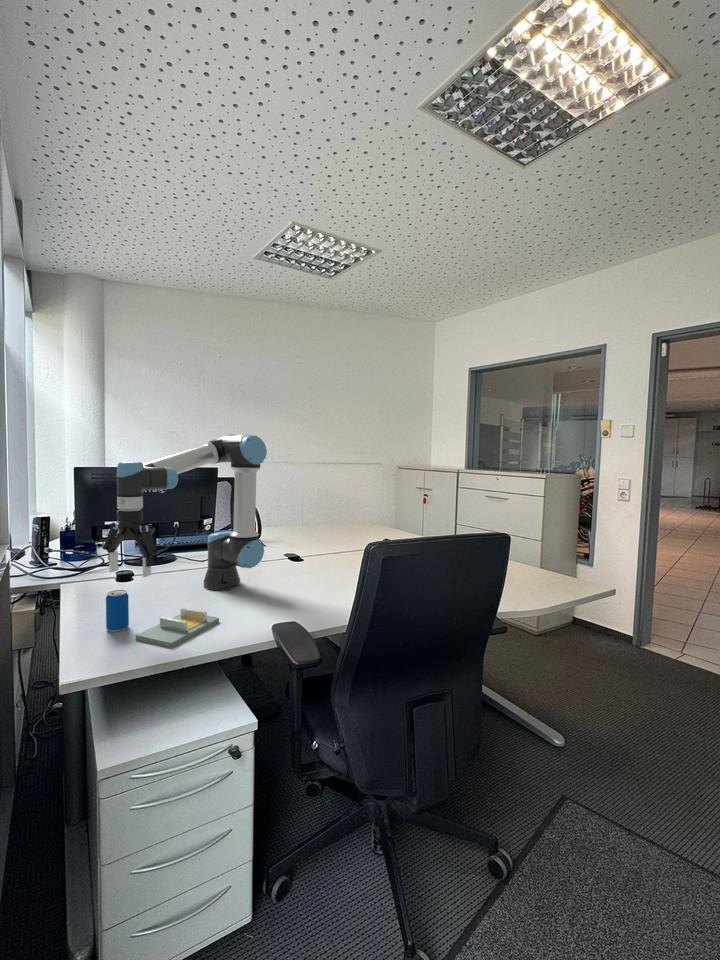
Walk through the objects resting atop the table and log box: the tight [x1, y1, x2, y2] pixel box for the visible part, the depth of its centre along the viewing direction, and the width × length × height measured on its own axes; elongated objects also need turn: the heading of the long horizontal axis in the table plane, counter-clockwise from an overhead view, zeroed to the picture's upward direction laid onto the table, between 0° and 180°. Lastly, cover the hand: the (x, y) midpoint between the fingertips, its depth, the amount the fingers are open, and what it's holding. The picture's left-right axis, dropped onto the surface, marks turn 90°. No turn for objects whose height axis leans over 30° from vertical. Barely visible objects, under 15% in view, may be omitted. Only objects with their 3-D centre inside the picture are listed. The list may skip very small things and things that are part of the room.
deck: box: [135, 613, 220, 649], centre depth 149 cm, size 14×22×2 cm, turn 159°
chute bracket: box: [159, 607, 208, 632], centre depth 150 cm, size 10×10×3 cm
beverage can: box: [105, 589, 130, 633], centre depth 149 cm, size 6×6×12 cm
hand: (130, 573), depth 149 cm, fingers open, 13 cm apart
